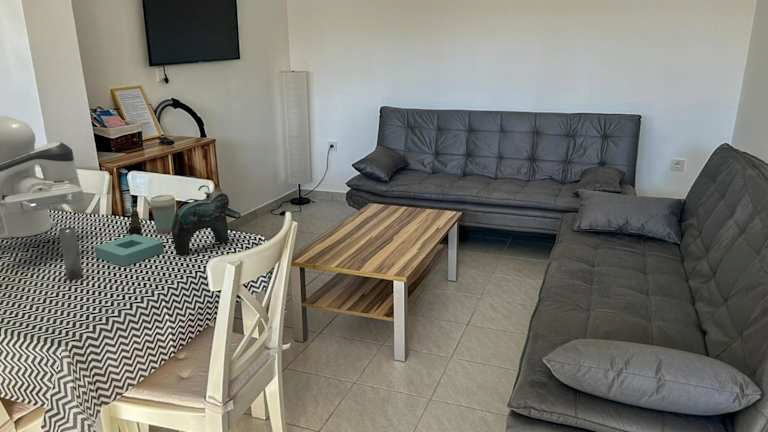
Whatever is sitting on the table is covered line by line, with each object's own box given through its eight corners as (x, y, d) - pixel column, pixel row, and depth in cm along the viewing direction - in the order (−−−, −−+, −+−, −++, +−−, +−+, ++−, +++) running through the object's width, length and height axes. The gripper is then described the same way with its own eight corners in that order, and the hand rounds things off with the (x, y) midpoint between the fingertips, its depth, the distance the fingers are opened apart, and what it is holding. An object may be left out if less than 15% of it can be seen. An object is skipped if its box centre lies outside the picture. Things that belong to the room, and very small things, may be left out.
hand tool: (142, 236, 197) (140, 223, 196) (129, 237, 196) (127, 224, 195) (144, 220, 214) (142, 208, 213) (132, 221, 213) (131, 209, 212)
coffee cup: (175, 225, 208) (171, 193, 204) (182, 232, 201) (178, 198, 197) (150, 229, 203) (146, 196, 199) (156, 236, 196) (152, 202, 193)
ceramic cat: (224, 237, 196) (219, 179, 190) (236, 241, 192) (231, 182, 186) (171, 253, 181) (164, 191, 175) (182, 258, 177) (176, 195, 171)
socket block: (95, 257, 178) (94, 246, 177) (136, 244, 189) (134, 233, 188) (124, 266, 171) (122, 255, 170) (164, 252, 182) (163, 241, 181)
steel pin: (64, 277, 163) (55, 230, 159) (77, 273, 166) (69, 226, 162) (72, 280, 161) (64, 232, 157) (85, 276, 164) (78, 228, 160)
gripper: (-3, 191, 168) (7, 200, 159) (73, 179, 182) (87, 188, 172) (1, 211, 170) (12, 222, 161) (76, 199, 184) (90, 208, 174)
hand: (51, 204), depth 166 cm, fingers open, 8 cm apart
